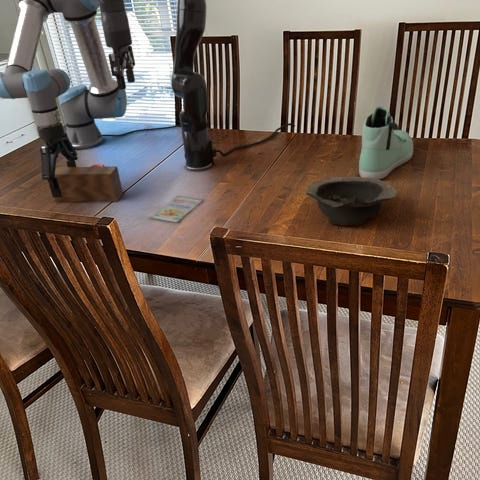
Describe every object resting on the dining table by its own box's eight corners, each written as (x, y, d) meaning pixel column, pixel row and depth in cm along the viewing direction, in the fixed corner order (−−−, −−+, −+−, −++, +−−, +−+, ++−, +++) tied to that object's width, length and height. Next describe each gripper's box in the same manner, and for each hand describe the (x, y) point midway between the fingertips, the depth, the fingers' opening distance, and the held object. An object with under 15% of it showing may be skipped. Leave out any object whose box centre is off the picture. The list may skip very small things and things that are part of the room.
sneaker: (418, 146, 175) (426, 90, 164) (396, 184, 150) (403, 120, 139) (381, 142, 181) (385, 87, 170) (353, 178, 156) (357, 116, 145)
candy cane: (65, 180, 171) (64, 177, 170) (98, 165, 181) (97, 162, 180) (76, 184, 168) (75, 180, 167) (108, 168, 178) (107, 164, 177)
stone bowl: (342, 242, 123) (342, 209, 118) (290, 211, 143) (288, 182, 139) (415, 214, 131) (417, 183, 127) (356, 189, 152) (356, 161, 147)
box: (55, 201, 157) (47, 174, 152) (63, 193, 162) (56, 167, 157) (117, 201, 154) (110, 173, 149) (123, 193, 159) (117, 166, 154)
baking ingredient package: (151, 216, 142) (178, 195, 153) (151, 217, 142) (178, 197, 153) (176, 221, 138) (202, 199, 149) (176, 222, 138) (202, 201, 150)
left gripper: (41, 137, 135) (60, 204, 146) (77, 111, 156) (92, 172, 167) (16, 138, 136) (37, 205, 147) (56, 112, 157) (72, 172, 168)
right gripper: (120, 31, 131) (131, 91, 140) (136, 24, 143) (145, 79, 152) (94, 33, 132) (107, 92, 141) (112, 25, 144) (123, 80, 153)
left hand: (66, 187), depth 157 cm, fingers open, 13 cm apart
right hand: (127, 85), depth 146 cm, fingers open, 8 cm apart
